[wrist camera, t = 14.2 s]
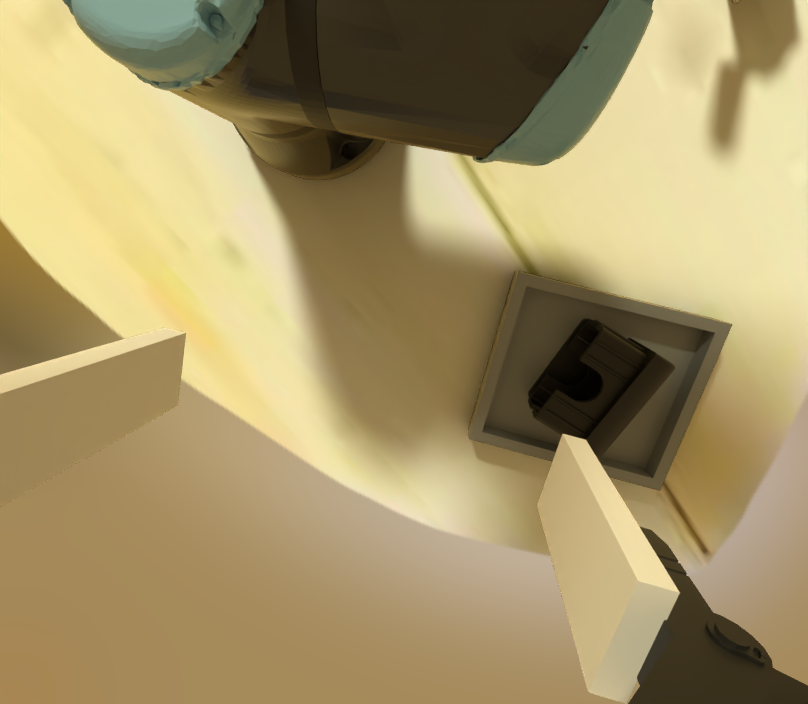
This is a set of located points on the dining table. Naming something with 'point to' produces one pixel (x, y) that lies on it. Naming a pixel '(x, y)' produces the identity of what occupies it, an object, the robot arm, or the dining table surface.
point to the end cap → (597, 385)
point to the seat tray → (546, 334)
